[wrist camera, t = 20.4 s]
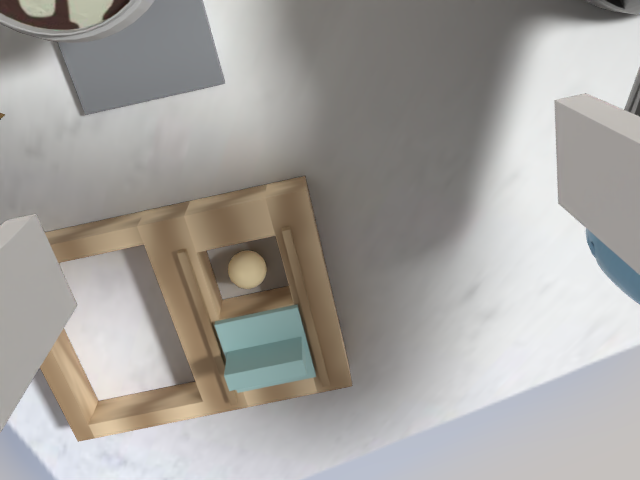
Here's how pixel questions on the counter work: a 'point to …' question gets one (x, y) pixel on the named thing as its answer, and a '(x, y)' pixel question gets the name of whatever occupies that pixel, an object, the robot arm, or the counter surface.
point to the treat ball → (247, 269)
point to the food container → (71, 17)
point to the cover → (265, 349)
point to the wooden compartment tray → (205, 304)
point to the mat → (146, 58)
